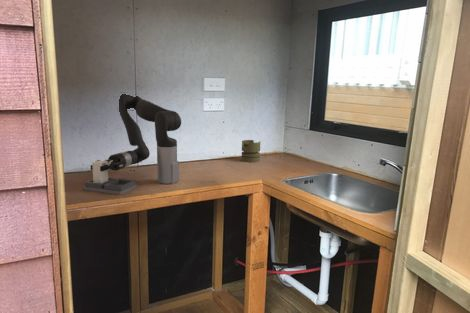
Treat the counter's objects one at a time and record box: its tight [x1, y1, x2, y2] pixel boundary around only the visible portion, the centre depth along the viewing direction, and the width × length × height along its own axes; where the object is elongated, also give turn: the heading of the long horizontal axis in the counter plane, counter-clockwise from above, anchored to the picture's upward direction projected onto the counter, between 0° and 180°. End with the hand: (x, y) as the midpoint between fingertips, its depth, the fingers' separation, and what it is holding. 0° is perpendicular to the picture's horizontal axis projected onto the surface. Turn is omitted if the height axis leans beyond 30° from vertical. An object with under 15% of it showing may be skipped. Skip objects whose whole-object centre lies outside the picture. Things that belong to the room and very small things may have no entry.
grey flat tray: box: [82, 176, 138, 195], centre depth 161 cm, size 19×12×3 cm, turn 71°
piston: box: [241, 139, 261, 164], centre depth 225 cm, size 11×12×11 cm
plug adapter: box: [91, 160, 109, 183], centre depth 162 cm, size 4×5×10 cm
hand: (96, 168), depth 159 cm, fingers open, 4 cm apart
